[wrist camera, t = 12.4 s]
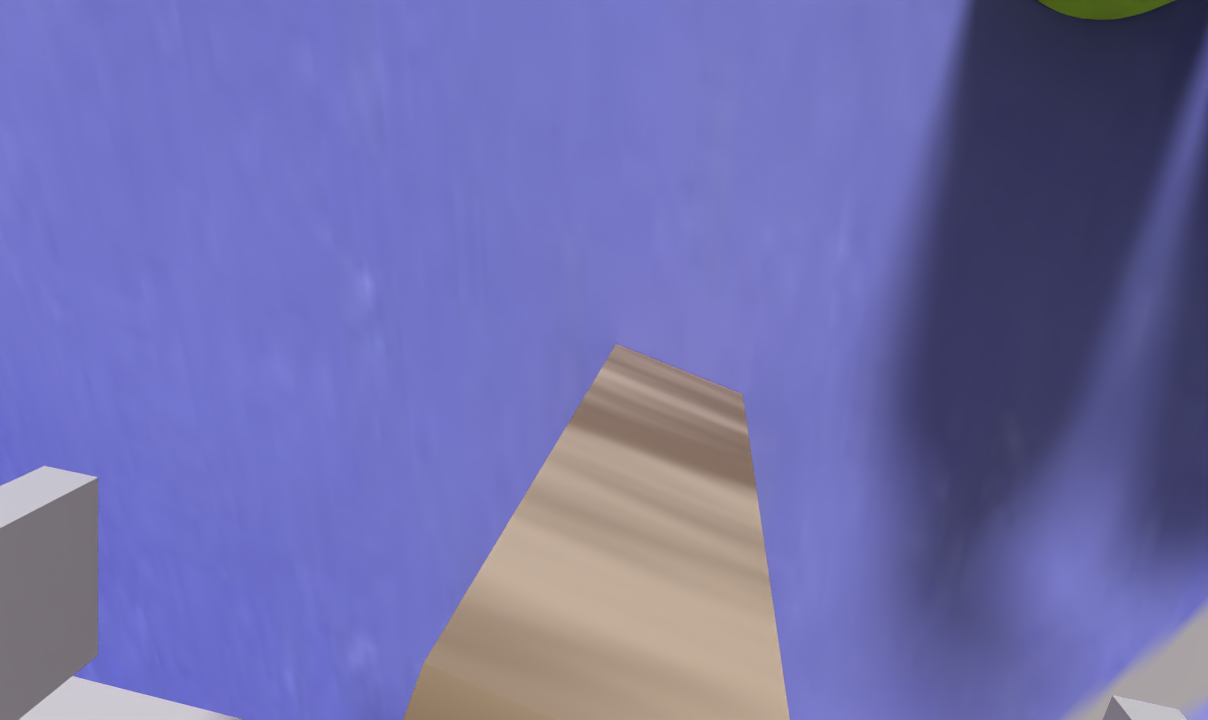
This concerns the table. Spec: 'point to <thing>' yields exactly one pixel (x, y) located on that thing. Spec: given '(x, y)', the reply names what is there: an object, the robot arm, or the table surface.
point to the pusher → (623, 571)
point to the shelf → (111, 705)
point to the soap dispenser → (1103, 7)
